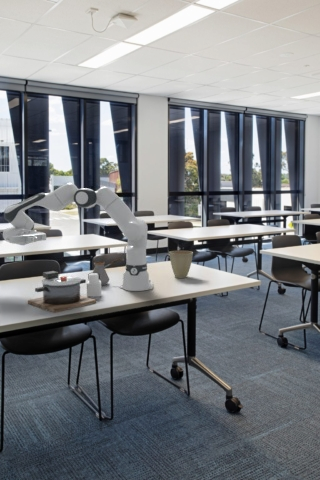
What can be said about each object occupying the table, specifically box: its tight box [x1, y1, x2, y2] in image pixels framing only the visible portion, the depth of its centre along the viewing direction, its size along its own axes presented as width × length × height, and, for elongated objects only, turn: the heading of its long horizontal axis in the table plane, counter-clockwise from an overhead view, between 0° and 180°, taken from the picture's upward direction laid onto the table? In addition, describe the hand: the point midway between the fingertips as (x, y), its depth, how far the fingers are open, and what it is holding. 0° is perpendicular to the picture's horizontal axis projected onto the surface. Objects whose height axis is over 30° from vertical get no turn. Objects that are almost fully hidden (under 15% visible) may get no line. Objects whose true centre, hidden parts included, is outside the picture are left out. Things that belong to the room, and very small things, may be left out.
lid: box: [41, 270, 82, 286], centre depth 227 cm, size 22×19×3 cm
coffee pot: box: [92, 256, 124, 287], centre depth 270 cm, size 21×12×15 cm, turn 120°
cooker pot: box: [34, 278, 87, 305], centre depth 227 cm, size 18×28×9 cm, turn 136°
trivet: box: [27, 294, 97, 314], centre depth 228 cm, size 24×24×2 cm
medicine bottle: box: [86, 271, 102, 298], centre depth 243 cm, size 7×7×12 cm
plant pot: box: [168, 250, 194, 279], centre depth 288 cm, size 15×15×16 cm
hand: (35, 239), depth 241 cm, fingers closed
